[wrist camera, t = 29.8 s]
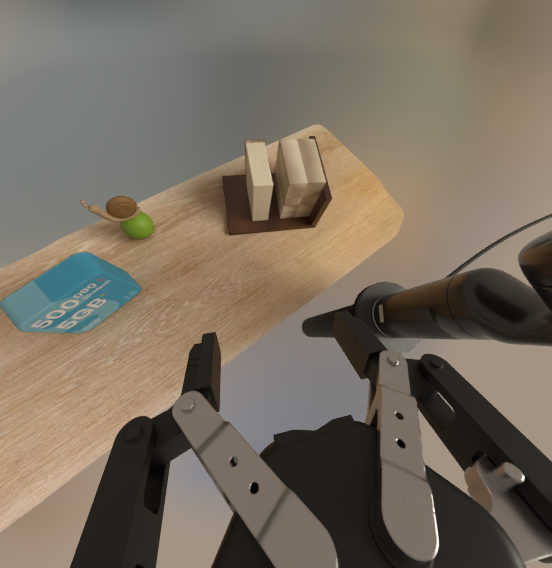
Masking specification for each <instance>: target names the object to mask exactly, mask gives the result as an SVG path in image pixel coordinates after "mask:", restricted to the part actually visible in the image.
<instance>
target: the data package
mask: <svg viewBox="0 0 552 568" xmlns="http://www.w3.org/2000/svg"><path fill="white" fill-rule="evenodd" d="M140 290H141V288H140V286H139V285H138V284H137V283H136V282H135V281H134V280H133V279H132V277H131V276H130V275H129V274H128V273H127V272H126V271H124V270H122V269H120V268H118V267H116V266H114V265H112V264H110V263H108V262H107V261H105V260H103V259H101V258H99V257H97V256H95V255H93V254H91V253H88V252H79V253H76V254H73V255H71V256H70V257H68V258H67V259H65V260H63V261H62V262H60V263H59V264H57V265H56V266H54V267H53V268H51V269H49V270H48V271H46V272H45V273H43V274H42V275H40V276H39V277H37V278H35V279H34V280H32V281H31V282H29V283H28V284H26V285H25V286H23V287H21V288H20V289H18V290H17V291H15V292H14V293H12V294H11V295H9V296H7V297H6V298H4V299H3V300H2V301H1V302H0V307H1V308H2V310H3V311H4V312H5V313H6V315H7V316H8V317H9V318H10V320H11V321H12V322H13V323H14V325H15V326H16V327H17V328H18V329H19V330H20V331H22V332H54V333H83V332H86V331H89V330H91V329H93V328H94V327H95V326H97V325H98V324H99V323H101V322H102V321H103V320H105V319H106V318H107V317H108V316H110V315H111V314H112V313H114V312H115V311H116V310H118V309H119V308H120V307H121V306H123V305H124V304H125V303H127V302H128V301H129V300H131V299H132V298H133V297H135V296H136V295H137V294H138V293H139V292H140Z"/></svg>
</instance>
